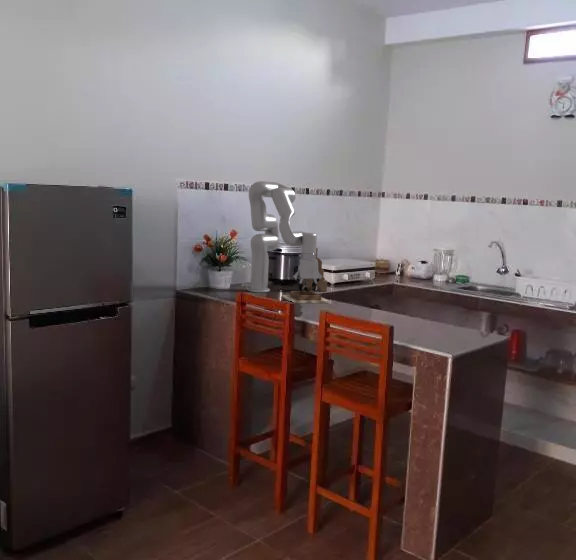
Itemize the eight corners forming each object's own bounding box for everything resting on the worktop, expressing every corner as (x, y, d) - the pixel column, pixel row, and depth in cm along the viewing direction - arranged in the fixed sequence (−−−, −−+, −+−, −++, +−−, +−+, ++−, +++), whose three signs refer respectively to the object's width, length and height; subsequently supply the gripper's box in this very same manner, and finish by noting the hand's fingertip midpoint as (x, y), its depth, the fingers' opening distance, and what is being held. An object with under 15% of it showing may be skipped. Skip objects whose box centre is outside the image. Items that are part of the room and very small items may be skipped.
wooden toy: (322, 290, 368) (325, 247, 364) (326, 292, 361) (329, 248, 358) (297, 289, 363) (300, 246, 359) (301, 291, 357) (303, 247, 353)
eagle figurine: (317, 292, 331) (309, 285, 338) (312, 282, 327) (304, 275, 334) (305, 300, 329) (297, 293, 336) (300, 289, 325) (292, 283, 332)
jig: (293, 303, 319) (293, 296, 319) (281, 296, 336) (281, 290, 336) (329, 303, 326) (330, 296, 326) (316, 296, 343) (316, 290, 342)
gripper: (295, 257, 321) (293, 292, 323) (326, 257, 327) (325, 291, 329) (290, 255, 328) (288, 290, 330) (321, 256, 334) (319, 289, 336)
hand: (307, 290), depth 330 cm, fingers closed on eagle figurine, 6 cm apart
